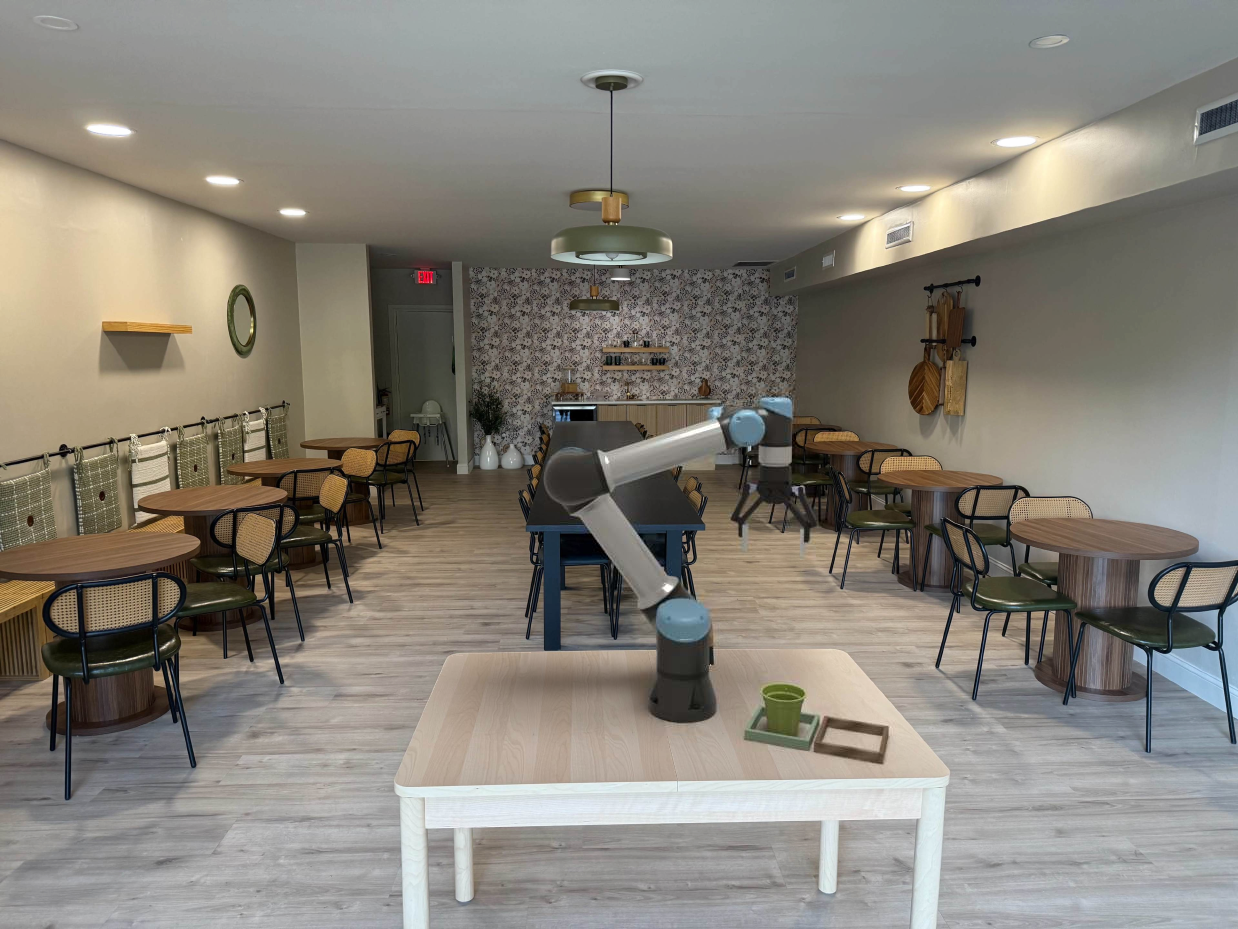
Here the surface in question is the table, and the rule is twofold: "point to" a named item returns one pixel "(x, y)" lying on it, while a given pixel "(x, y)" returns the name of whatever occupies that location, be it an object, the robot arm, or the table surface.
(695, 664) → the robot arm
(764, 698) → the plant pot
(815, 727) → the sage green collar
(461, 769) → the table surface
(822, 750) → the walnut collar
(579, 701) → the table surface
